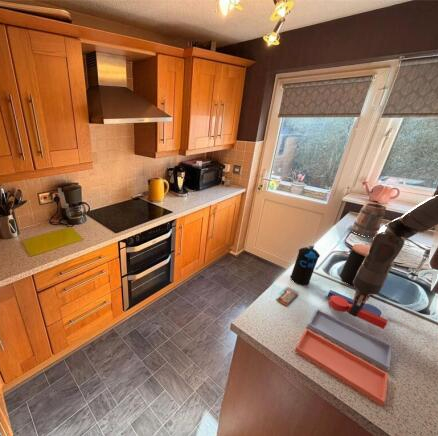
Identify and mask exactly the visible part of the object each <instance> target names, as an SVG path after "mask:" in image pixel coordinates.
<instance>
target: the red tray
mask: <svg viewBox="0 0 438 436" xmlns="http://www.w3.org/2000/svg"><path fill="white" fill-rule="evenodd" d="M294 352H296V353H297V354H298V355H300V356H302V357H303V358H305V359H306V360H308V361H310V362H311V363H313V364H314V365H316V366H318V367H319V368H321V369H322V370H324V371H325V372H327V373H328V374H330V375H332V376H333V377H335V378H336V379H338V380H340V381H341V382H343V383H344V384H346V385H348V386H350V387H351V388H353V389H354V390H356V391H357V392H358V393H360V394H362V395H364V396H365V397H366V398H368V399H370V400H372V401H373V402H375V403H376V404H378V405H379V406H381V407H383V406H384V404H385V403H386V397H387V396H386V395H387V390H388V389H387V388H388V381H389V373H388V372H387V371H385V370H383V369H382V368H380V367H378V366H376V365H374V364H372V363H371V362H369V361H367V360H365V359H363V358H362V357H360V356H358V355H356V354H354V353H352V352H351V351H349V350H347V349H345V348H343V347H342V346H340V345H338V344H336V343H334V342H332V341H331V340H329V339H327V338H325V337H323V336H321V335H320V334H318V333H316V332H314V331H312V330H311V329H309V328H305V330H304V331H303V333H302V335H301V337H300V339H299V341H298V343H297V345H296V347H295V349H294Z"/></svg>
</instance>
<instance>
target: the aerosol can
mask: <svg viewBox="0 0 438 436" xmlns="http://www.w3.org/2000/svg"><path fill="white" fill-rule="evenodd" d="M320 257H321V254H320V253H319V252H318V251H317V250H316V249H315V245H314V244H312V243H309V244H308V246H306V247H302V248H299V249H298V253H297V256H296V260H295V263H294V265H293V268H292V272H291V274H290V275H289V278H290V277H291V278H292V280H293V281H294V282H293V281H292V280H291V281H292V282H293V283H295V284H296V285H299V284H300V285H299V286H304V285H305V286H309V285H310V281H311V279H312V276H313V273H314V270H315V268H316V265H317V263H318V260H319V258H320ZM308 284H309V285H308Z"/></svg>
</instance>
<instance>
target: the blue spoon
mask: <svg viewBox="0 0 438 436" xmlns="http://www.w3.org/2000/svg"><path fill="white" fill-rule="evenodd" d="M331 296H340V297H342V298H344V299H346V300H347V301H348V302H349V304H352V305H353V303H354V302H353V298H351V297H348V296H346V295H343V294H341V293H339V292H337V291H334V290H332V289H330V290H329V291H328V293H327V296H326V298H327V299H329V300H330V297H331ZM362 309H364V310H366V311H368V312H371V313H373V314H375V315H378V316H380V317H382V310H381V309H380V308H379V307H377V306H375V305H373V304H370V303H365V305H364V306H363V307H362Z"/></svg>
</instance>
